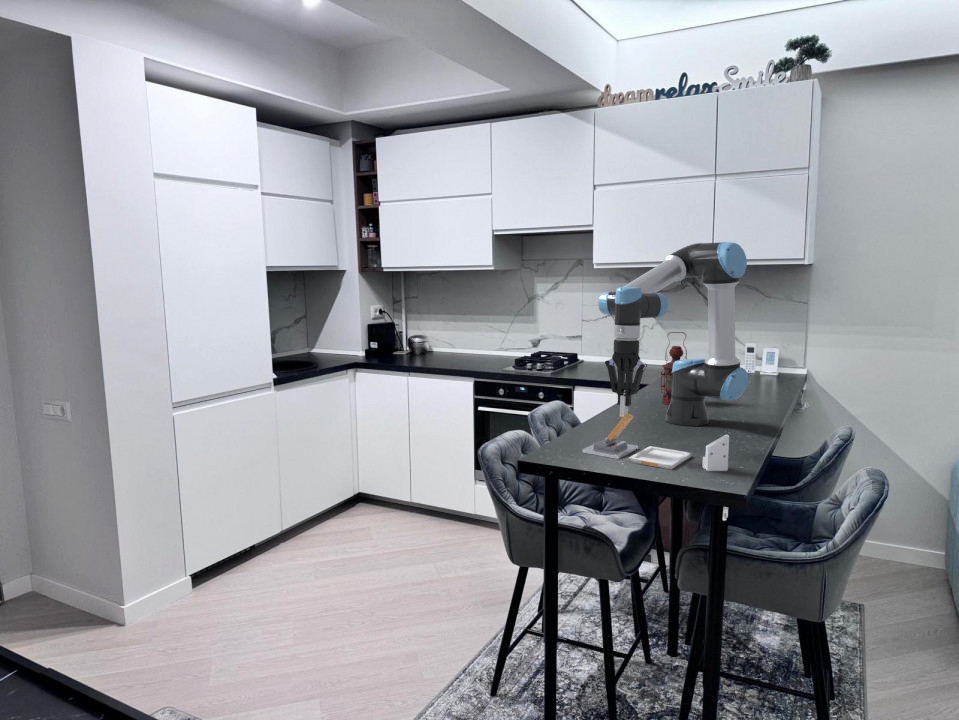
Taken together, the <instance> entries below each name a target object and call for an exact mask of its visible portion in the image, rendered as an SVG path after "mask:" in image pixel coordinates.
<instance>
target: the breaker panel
mask: <svg viewBox="0 0 959 720" xmlns="http://www.w3.org/2000/svg"><path fill="white" fill-rule="evenodd" d="M604 440H605V438H604V439H602V440H600V441H597V442H595V443H593V444H591V445H589V446H587V447H585V448H582V453H583V454H588V455H589V454H590V455H594V456H601V457H605V458H611V459H617V460H619V459H621V458H623V457H625V456H628V455H629V454H631V453H632V452H633V453H634V451H637V450H638V449H639V445H635V444H629V443H628V441H625V440H620V439H619V440H618V439H617V440H615V441H613V442H611V443H609V444H606V443H605V442H604ZM636 449H637V450H636Z"/></svg>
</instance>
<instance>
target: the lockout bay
mask: <svg viewBox="0 0 959 720" xmlns="http://www.w3.org/2000/svg"><path fill="white" fill-rule="evenodd" d="M691 458H692V452H689V451H682V450H676V449H670V448H665V447H664V448H663V447H658V446H651V445H650V446H648V447H646V448H644V449H641V450H640V451H639V452H636V453H635V454H632V455H631V456H629V457H628V458H627V462H628V463H633V464H639V465H644V466H648V467H649V466H650V467H654V468H655V467H656V468H661V469H666V470H673V469H676V467H679V465H681V464H683V463H684V462H685V461H688V459H691Z"/></svg>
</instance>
